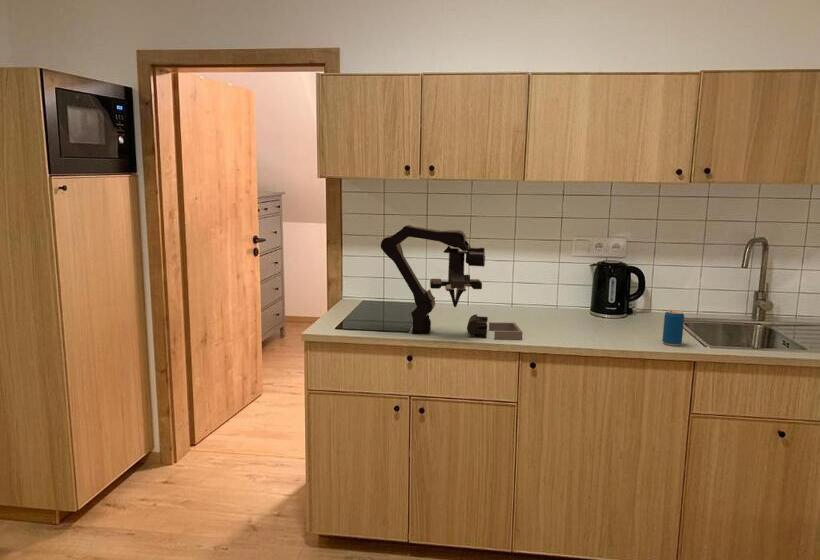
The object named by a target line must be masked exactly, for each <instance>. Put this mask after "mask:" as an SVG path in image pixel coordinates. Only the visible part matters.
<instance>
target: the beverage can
mask: <svg viewBox="0 0 820 560" xmlns="http://www.w3.org/2000/svg"><path fill="white" fill-rule="evenodd" d="M663 317H664V318H663V328H662V329H663V330H662V342H663V343H664V344H665V346H671V347H679V346H680V345H681V344H682V343H683V334H684V322H685V315H684V312H683V311H682V310H678V309H666V312H665V313H664V316H663Z"/></svg>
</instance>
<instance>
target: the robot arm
mask: <svg viewBox="0 0 820 560" xmlns="http://www.w3.org/2000/svg"><path fill="white" fill-rule="evenodd" d="M410 237H411V238H415V239H416V238H417V239H423V240H427V241H434V242H439V243H442V244H444V245H446V246H447V247H446V248H445V250H443V254H445V253H446V254H448V269H447V270H448V271H447V274H448V278H447V280H445V281H444V280H442V279H441V278H430V280H429V289H428V290H426V289H424V288H425V287H424V288H423V286H422V283H421V282H420V281H419V279H418V278H417V276H416V273H415V272H414V271H413V269H412V267H411V266H410V264H409V261H407V259H406V257H405V255H404V252H403V248H402V245H401V243H403V242H404V241H405V240H407V238H410ZM380 249H381V251H383V252H384V254H385V255H386V256H387V257H388V258H389V259H391V261H393V262H394V265H395V266H396V268H397V269H398V271H399V272H400V275H401V276H402V278H403V280H404V281H405V282H406V285H407V286H408V288H409V290H410V291H411V293H412V295H413V296H412V297H413V300H414V302H415V306H416V307H415V308H414V309H413V311H411V318H412V320H411V321H412V322H411V334H414V335H421V334H423V335H425V334H426V335H428V334H429V335H430V332H431V331H432V330H431V329H432V319H430V316H429V314H430V313H431V312H433V310H434V308H435V307H436V300H435V299H436V297H435V296H434V295H433V293H432V291H431V289H434V290H435V289H436V290H437V289H439V290H440V289H441V288H442V287H444V288H445V291H447V292H449V294H450V297H451V301H452V305H453V307H454V308H457V307H458V303H459V301H460V298H461V296H462V294H463V293H464V292H466V291H467V289H466V288H468V287H471V288H472V289H473V290H482V289H483V283H482V281H481V280H480V279H478V278H477V279H476V278H474V279H473V278H471V275H470V274H465V263H466V264H467V265H468V267H485V266H486V255H485V254H486V253H485V249H486V248H485V247H472V246H471V245H470V244H469V242H468V241H467V237H466V234H465V232H464V231H463V230H458V229H457V230H456V229H454V230H440V229H438V230H437V229H434V228H433V229H432V228H426V227H425V228H424V227H420V226H413V225H411V224H408V225H405V226H403V227H402V228H401V229H400V230H399V231H398V232H395V233H394V234H393V235H390V236H386V237H384V238H383V239H382V240H381V242H380ZM455 289H456V290H455Z"/></svg>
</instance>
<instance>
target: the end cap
mask: <svg viewBox="0 0 820 560" xmlns="http://www.w3.org/2000/svg"><path fill="white" fill-rule="evenodd" d="M488 320H489V318H488V316H478V314H477V313H476V314H473V315H470V318H469V319H468V322H467V326H466V331H467V333H468V334H469V335H470V336H471V337H472V338H475V339H487V335H488V322H489V321H488Z"/></svg>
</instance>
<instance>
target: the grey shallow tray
mask: <svg viewBox="0 0 820 560" xmlns="http://www.w3.org/2000/svg"><path fill="white" fill-rule="evenodd" d="M488 331H493V332H494V335H493V336H494V337H493V338H494V340H496V341H501V340H502V341H503V340H504V341H507V340H508V341H522V340H523V330H522V329H521V328H520V327H519V325H517V322H502V321H501V322H496V321H495V322H494V321H493V322H491V321H490V322H489V321H488Z"/></svg>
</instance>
